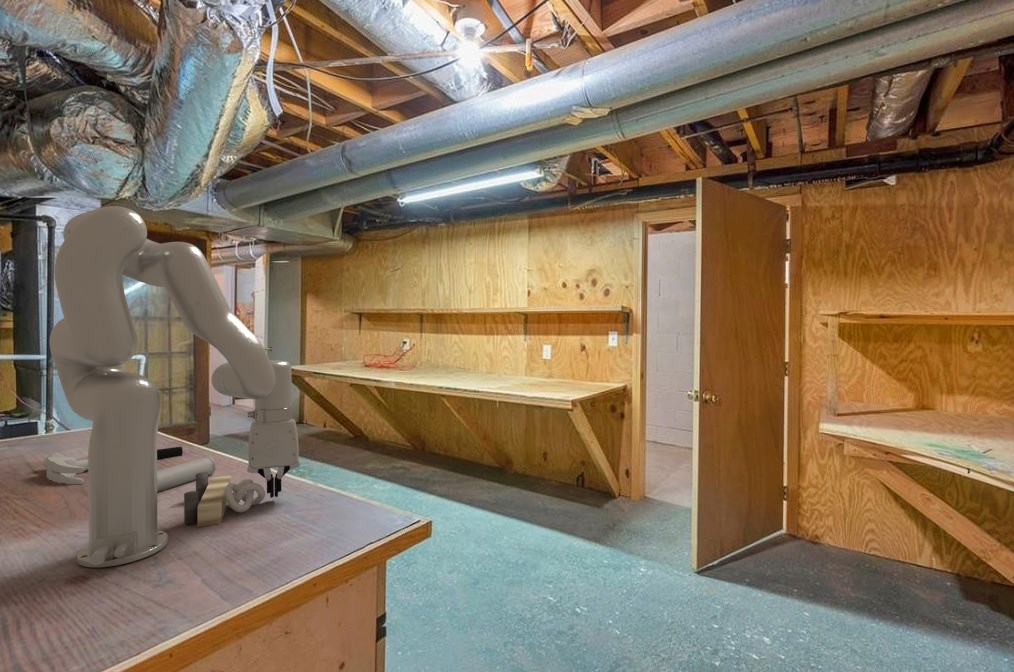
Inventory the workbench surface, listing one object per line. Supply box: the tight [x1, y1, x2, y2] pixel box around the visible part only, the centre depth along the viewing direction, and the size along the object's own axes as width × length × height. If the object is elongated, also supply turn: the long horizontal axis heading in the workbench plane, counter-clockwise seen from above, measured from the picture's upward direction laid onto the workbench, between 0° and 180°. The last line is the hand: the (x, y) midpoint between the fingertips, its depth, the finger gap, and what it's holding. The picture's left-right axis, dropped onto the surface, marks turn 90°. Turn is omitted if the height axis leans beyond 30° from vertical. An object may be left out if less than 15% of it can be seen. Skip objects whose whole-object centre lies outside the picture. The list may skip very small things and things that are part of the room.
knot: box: [224, 477, 266, 513], centre depth 107 cm, size 8×8×6 cm
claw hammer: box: [42, 446, 184, 485], centre depth 136 cm, size 5×22×30 cm
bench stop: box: [183, 472, 232, 528], centre depth 106 cm, size 20×7×6 cm, turn 25°
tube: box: [157, 455, 217, 493], centre depth 118 cm, size 5×5×25 cm
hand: (274, 495), depth 110 cm, fingers closed
